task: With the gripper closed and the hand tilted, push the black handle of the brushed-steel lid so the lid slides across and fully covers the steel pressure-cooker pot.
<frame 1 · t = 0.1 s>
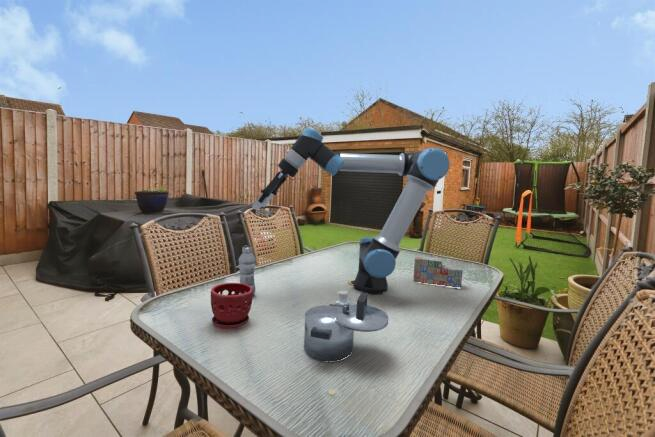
hand: (258, 207, 125), 36 cm above the table, tool tilted 35°, fingers open, 13 cm apart
salt shaker: (342, 319, 112), on the table
plastic bottle: (247, 295, 130), on the table
plant pot: (232, 323, 106), on the table
stack of blocks: (436, 285, 153), on the table
lid: (361, 308, 88), point 13 cm above the table, slide at 9.0 cm
pot: (328, 348, 93), on the table
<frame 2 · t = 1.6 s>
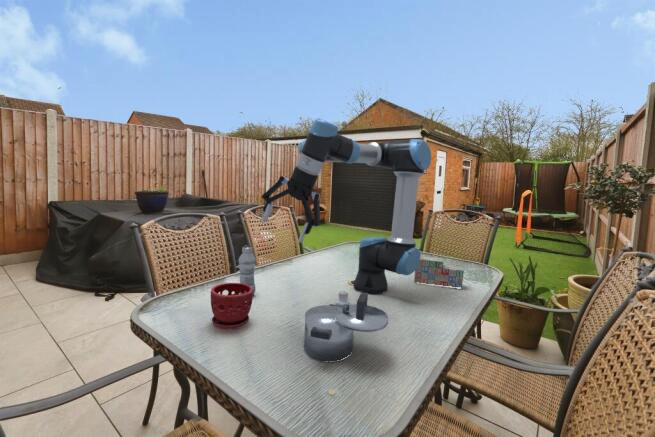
hand: (281, 231, 103), 31 cm above the table, tool tilted 25°, fingers open, 13 cm apart
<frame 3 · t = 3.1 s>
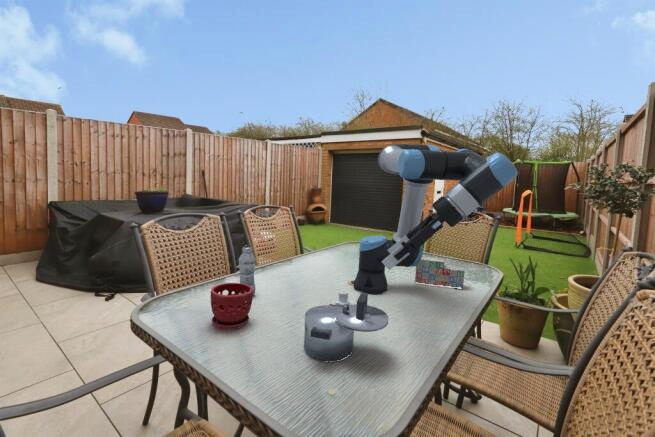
hand: (388, 259, 85), 28 cm above the table, tool tilted 45°, fingers open, 13 cm apart
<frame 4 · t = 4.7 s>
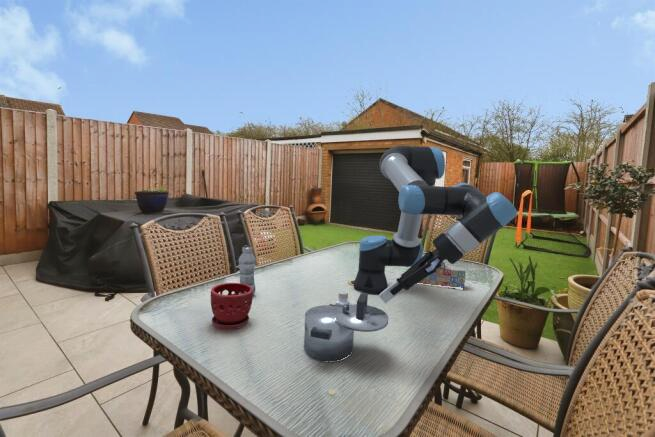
hand: (382, 298, 86), 17 cm above the table, tool tilted 45°, fingers closed
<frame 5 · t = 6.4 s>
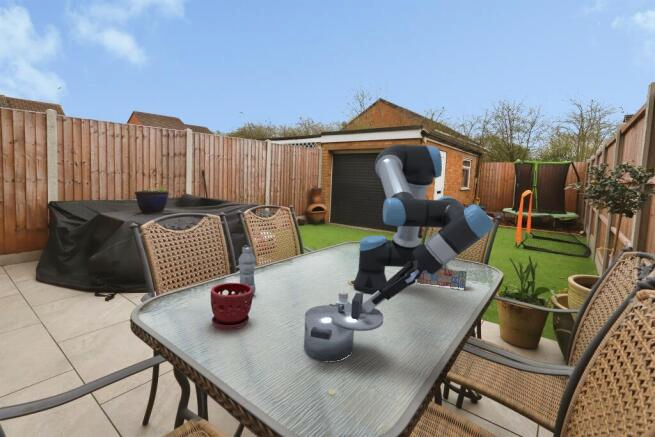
hand: (365, 307, 88), 14 cm above the table, tool tilted 45°, fingers closed
lid: (357, 307, 89), point 13 cm above the table, slide at 7.7 cm, touching gripper
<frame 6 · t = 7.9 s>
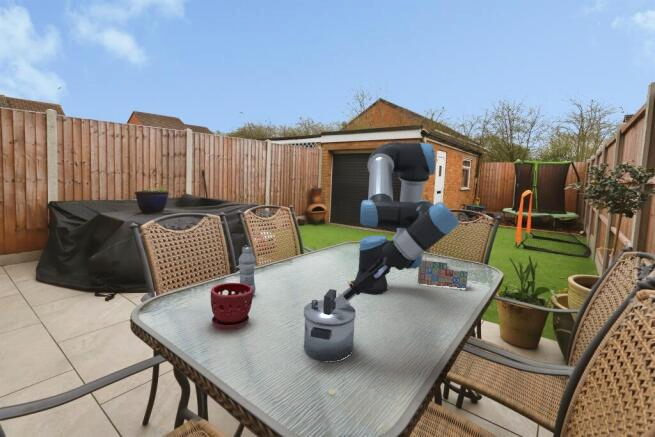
hand: (337, 303, 90), 14 cm above the table, tool tilted 45°, fingers closed
lid: (329, 303, 91), point 13 cm above the table, slide at -0.1 cm, touching gripper
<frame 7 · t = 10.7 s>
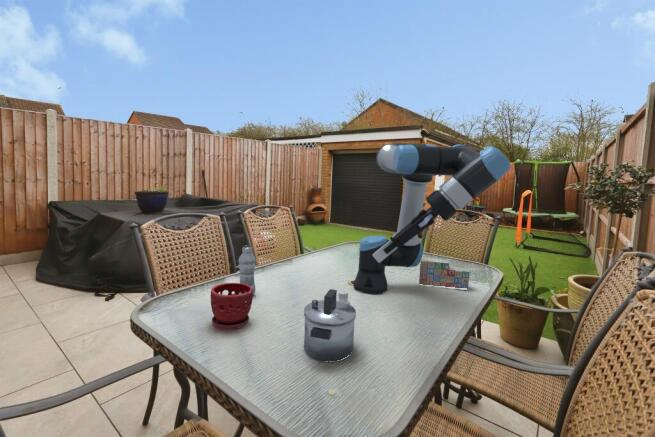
hand: (376, 258, 86), 28 cm above the table, tool tilted 45°, fingers closed
lid: (330, 303, 91), point 13 cm above the table, slide at 0.0 cm
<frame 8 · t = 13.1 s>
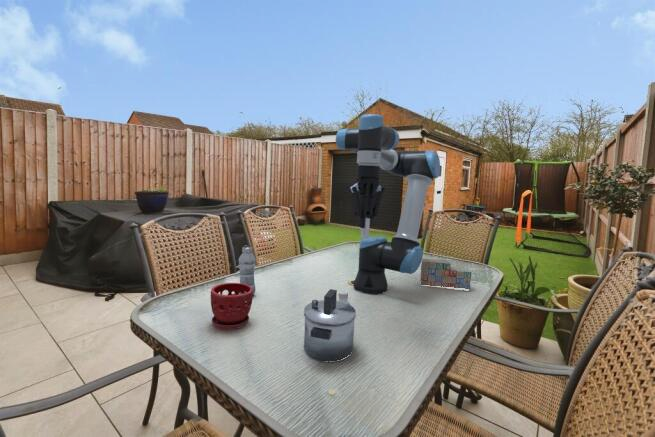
hand: (364, 237, 106), 29 cm above the table, tool pointing down, fingers closed
at the end: lid slide at 0.0 cm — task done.
